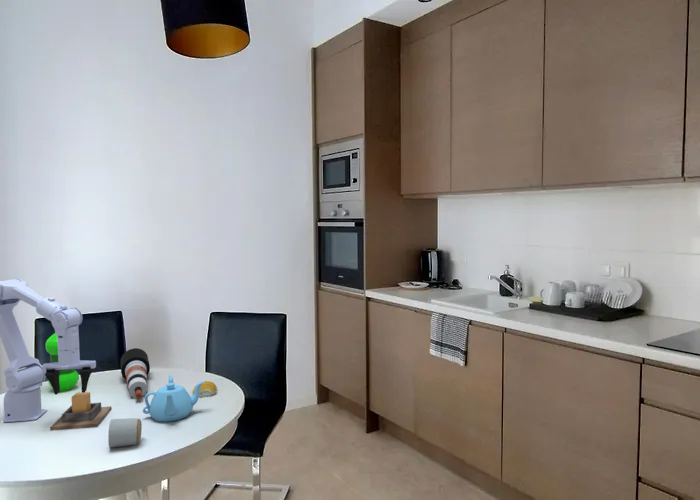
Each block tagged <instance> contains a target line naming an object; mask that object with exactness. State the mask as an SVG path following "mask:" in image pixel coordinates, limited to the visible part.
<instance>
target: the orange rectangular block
mask: <svg viewBox="0 0 700 500" xmlns="http://www.w3.org/2000/svg"><path fill="white" fill-rule="evenodd" d="M91 403H92V402H91V391H85V392H84V393H82V391H81V392H75V393H74V394H73V395H72V396H71V405H72V413H77V412H90V411H91Z"/></svg>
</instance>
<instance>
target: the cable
mask: <svg viewBox="0 0 700 500" xmlns="http://www.w3.org/2000/svg"><path fill="white" fill-rule="evenodd" d="M150 367H151V365H150V361H149V356H148V354H147V352H145V350H143V349H140V348H135V347H134V348H129V349H128V350H126V351H124V353H123V354H122V355H121V357H120V373H121V376H122V378H123V379H124V380H125V382H126V385H127V389H128V394H129V395H130V397H132V398H134V399H137V400H140V399H142V398H143V397H145V395H146V394H147V393H148V376H149V375H150V371H151V370H150V369H151V368H150Z"/></svg>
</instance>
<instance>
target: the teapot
mask: <svg viewBox="0 0 700 500" xmlns="http://www.w3.org/2000/svg"><path fill="white" fill-rule="evenodd" d="M204 382H205V380H204V381H200V382H198V383H197V384H196V385H195V386H196V387H195V386H194V387H195V393H194V395H193V394H192V396H191V395H190V393H189V392H188V391H187V390H186V388H185V387H184V386H182V385H181V384H176V383H175V382H174V376H172V375H168V383H166V384H165V385H164V386H161V387H160V388H159V389H157V390H156V391H153V390H152V391H148V392H146V394H145V395H144V403H145V406H144V407H143V409H142V413H143V414H144V415H149V416H151V417H152V418H153V420H155V421H158V422H162V423H163V422H166V423H167V422H175V421H179V420H182V419H184V418H186V417H188V416H189V415H190V414H191V412H192V411H193V408H194V406H195V405H196V404H197V403H198V401H199V398H200V397H199V390H200V387H201V385H202V384H203V383H204ZM150 395H151V396H152V395H153V397H152V400H151V401H150V403H149V400H148V396H150Z"/></svg>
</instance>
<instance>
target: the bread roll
mask: <svg viewBox="0 0 700 500" xmlns="http://www.w3.org/2000/svg"><path fill="white" fill-rule="evenodd" d="M204 381H205V380H204ZM195 387H196V385H195V386H193V389H192V396H193V395H194V393H195ZM217 388H218V387H217V385H216V384H215V383H214V382H213V381H210V380H209V381H207V380H206V381H205V382H204V383H203V384H202V385H201V387H200V390H199V398H206V397H207V398H208V397H212V396H214V395H215V394H216V393H217Z"/></svg>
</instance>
